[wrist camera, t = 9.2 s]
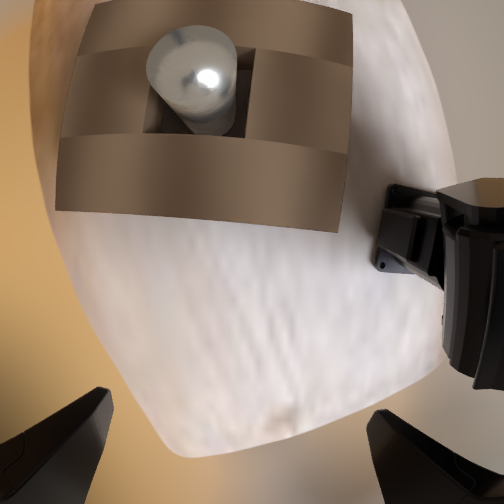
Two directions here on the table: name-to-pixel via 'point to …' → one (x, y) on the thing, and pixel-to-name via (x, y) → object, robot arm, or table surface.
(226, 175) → the board
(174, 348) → the table surface
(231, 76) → the long pin
